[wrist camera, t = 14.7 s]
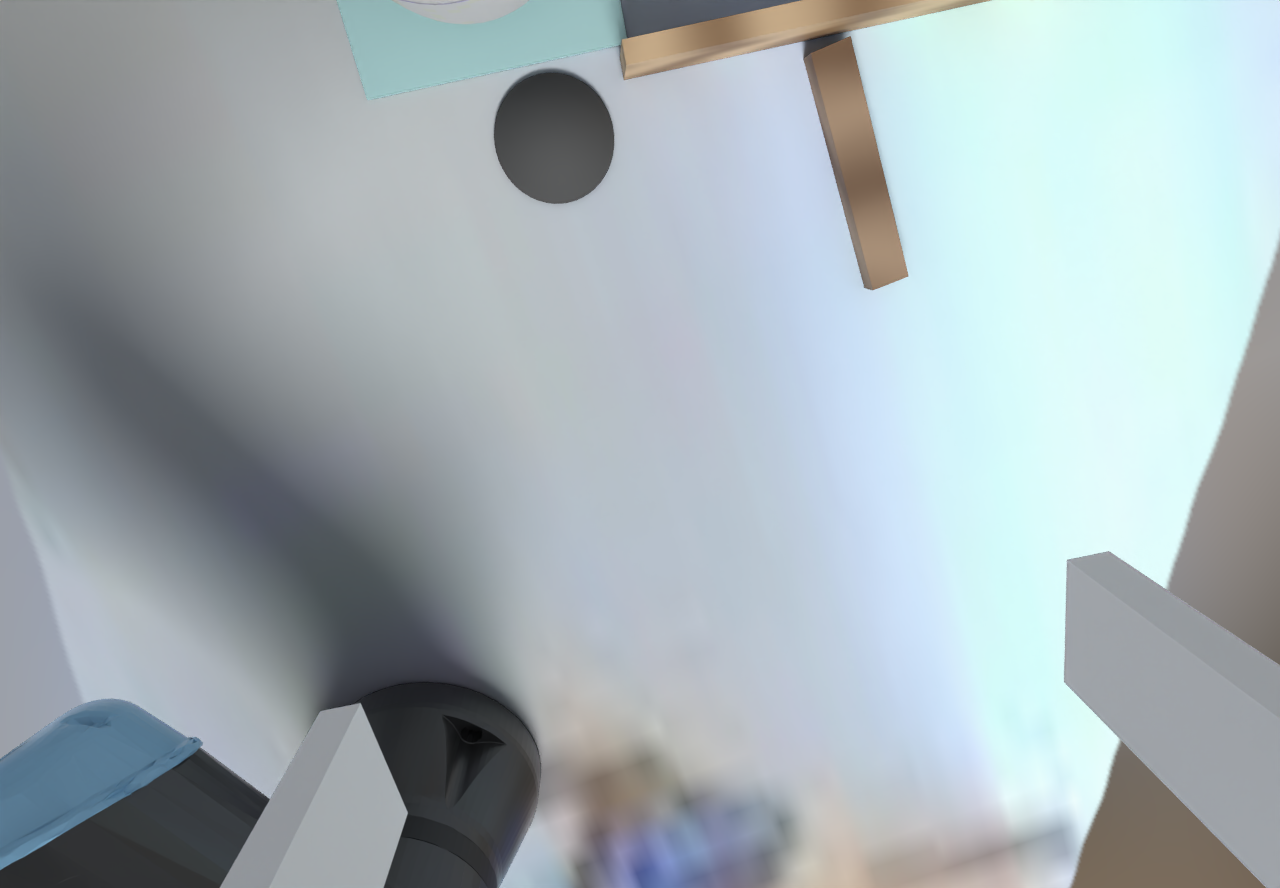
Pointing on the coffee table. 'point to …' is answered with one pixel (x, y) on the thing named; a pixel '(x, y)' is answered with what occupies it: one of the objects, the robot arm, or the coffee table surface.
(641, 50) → the cubby
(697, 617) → the coffee table surface
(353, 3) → the mat
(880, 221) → the walnut bar
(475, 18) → the teacup
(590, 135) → the disc
